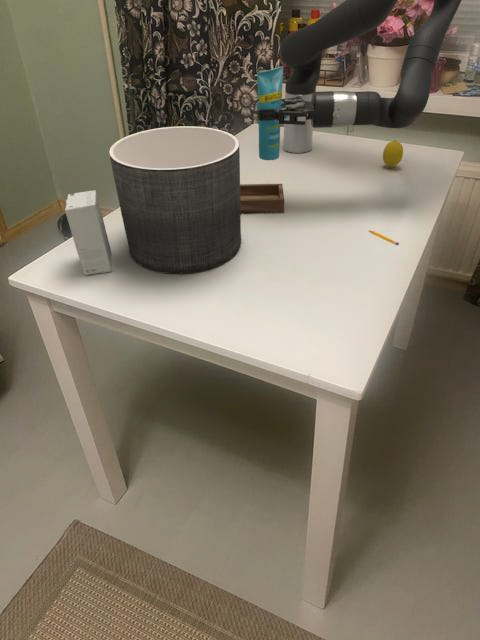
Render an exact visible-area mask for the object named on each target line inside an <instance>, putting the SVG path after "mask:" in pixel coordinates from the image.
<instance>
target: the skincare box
mask: <svg viewBox="0 0 480 640" xmlns="http://www.w3.org/2000/svg"><path fill="white" fill-rule="evenodd" d="M65 202H66V205H65V209H64V212H65V215H66V219H67V222H68V225H69V229H70V232H71V235H72V240H73V243H74V245H75V248H76V252H77V255H78V259H79V262H80V265H81V269H82V272H83V275H84V276H89V275H94V274H103V273H104V274H106V273H111V272H112V271H113V269H112V256H113V255H112V254H113V253H112V248H111V246H110V241H109V238H108V234H107V229H106V225H105V222H104V218H103V214H102V210H101V207H100V203H99V198H98V194H97V189H96V190H95V189H94V190H87V191H80V192H74V193H69V194H67V199H66V200H65Z"/></svg>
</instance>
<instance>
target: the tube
mask: <svg viewBox="0 0 480 640" xmlns="http://www.w3.org/2000/svg"><path fill="white" fill-rule="evenodd" d="M256 76H257V77H256V78H257V81H256V82H257V83H256V84H257V99H258V100H257V112H258V111H259V110H260V109H275V111H276V109H278V108H281V103H282V99H283V81H284V66H278V67H275V68H272V69H269V70H263V71H258V72H256ZM280 138H281V124H279V122H277V121H275V120H266V121H260V120H259V119H258V157H259V159H260V160H263V161H276V160H278V159H279V158H280V143H281V139H280Z"/></svg>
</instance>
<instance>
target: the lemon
mask: <svg viewBox="0 0 480 640" xmlns="http://www.w3.org/2000/svg"><path fill="white" fill-rule="evenodd" d="M403 155H404V147H403V144H402V143H401V142H399V141H398V140H397V139H394V140H392V141H390V142H388V143H387V144H386V145H385V147H384V149H383V153H382V160H383V163H384V164H385V165H387V166H388V167H389V168H390V169H391V168H393V167H395V166H397V165H398V164H400V162H402V159H403Z"/></svg>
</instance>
